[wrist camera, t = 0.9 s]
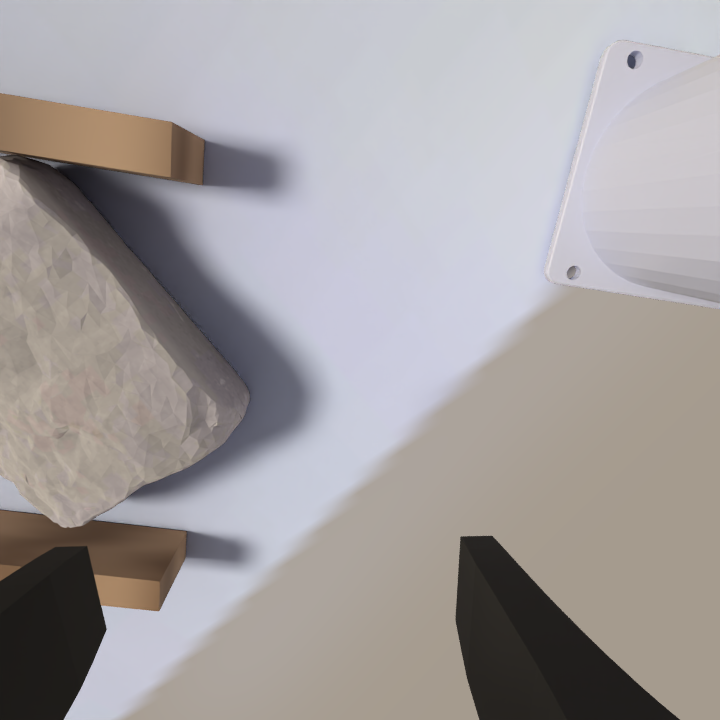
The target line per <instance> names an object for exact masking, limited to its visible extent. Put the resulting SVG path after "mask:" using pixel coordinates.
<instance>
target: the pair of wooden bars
mask: <svg viewBox="0 0 720 720" xmlns="http://www.w3.org/2000/svg"><path fill="white" fill-rule="evenodd" d="M204 143H205V140H203V139H202V138H200V137H198V136H196V135H194V134H193V133H191V132H189V131H187V130H185V129H183V128H182V127H180V126H178V125H176V124H174V123H173V122H168V121H162V120H156V119H150V118H144V117H138V116H132V115H127V114H121V113H115V112H109V111H103V110H97V109H91V108H85V107H79V106H73V105H67V104H61V103H55V102H49V101H43V100H37V99H31V98H25V97H20V96H14V95H8V94H2V93H0V153H5V154H11V155H20V156H23V157H30V158H36V159H42V160H48V161H55V162H61V163H67V164H73V165H80V166H86V167H92V168H98V169H104V170H111V171H117V172H123V173H129V174H136V175H142V176H148V177H154V178H161V179H167V180H173V181H179V182H185V183H192V184H198V185H203V165H204ZM186 535H187V531H179V530H171V529H162V528H153V527H144V526H135V525H127V524H118V523H109V522H100V521H92V520H91V521H89V522H88V523H86V524H85V525H83V526H77V527H72V528H70V527H67V528H64V527H61V526H60V525H59V524H58V523H55V522H53V521H52V520H51V519H50V518H48V517H47V516H45V515H39V514H30V513H22V512H13V511H4V510H0V581H1V580H3V579H4V578H6V577H7V576H9V575H10V574H12V573H13V572H15V571H16V570H18V569H20V568H21V567H23V566H24V565H26V564H27V563H29V562H31V561H32V560H34V559H35V558H37V557H39V556H40V555H42V554H44V553H46V552H47V551H49V550H51V549H53V548H54V547H69V546H87V547H88V552H89V556H90V560H91V564H92V569H93V573H94V577H95V582H96V586H97V590H98V595H99V599H100V603H101V605H103V606H113V607H122V608H132V609H142V610H151V611H160V609H161V606H162V604H163V602H164V600H165V598H166V596H167V594H168V592H169V590H170V588H171V586H172V584H173V582H174V580H175V578H176V576H177V574H178V572H179V570H180V568H181V566H182V564H183V562H184V560H185V557H186Z"/></svg>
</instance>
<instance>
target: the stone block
mask: <svg viewBox="0 0 720 720" xmlns="http://www.w3.org/2000/svg"><path fill="white" fill-rule="evenodd" d="M249 401H250V393H249V391H248V389H247V386H246V384H245V383H244V382H243V380H242V379H241V378H240V377H239V375H238V374H237V373H236V371H235V370H234V369H233V368H232V367H231V366H230V364H229V363H228V362H227V361H226V360H225V359H224V358H223V356H222V355H221V354H220V353H219V352H218V351H217V350H216V348H215V347H214V346H213V345H212V344H211V343H210V341H209V340H208V339H207V338H206V337H205V336H204V335H203V333H202V332H201V331H200V330H199V329H198V328H197V326H196V325H195V324H194V323H193V322H192V321H191V319H190V318H189V317H188V316H187V315H186V314H185V312H184V311H183V310H182V309H181V308H180V307H179V305H178V304H177V303H176V302H175V301H174V300H173V298H172V297H171V296H170V295H169V294H168V293H167V292H166V291H165V289H164V288H163V287H162V286H161V285H160V284H159V283H158V281H157V280H156V279H155V278H154V276H153V275H152V274H151V273H150V271H149V270H148V269H147V268H146V267H145V266H144V264H143V263H142V262H141V261H140V260H139V259H138V258H137V257H136V255H135V254H134V253H133V252H132V251H131V250H130V249H129V248H128V247H127V246H126V245H125V243H124V242H123V240H122V239H121V238H120V237H119V235H118V234H117V233H116V232H115V231H114V230H113V229H112V227H111V226H110V225H109V224H108V223H107V221H106V220H105V219H104V218H103V216H102V215H101V214H100V213H99V212H98V211H97V210H96V208H95V207H94V205H93V204H92V203H91V202H90V201H89V200H88V199H87V198H86V197H85V196H84V195H83V193H82V192H81V191H80V190H79V188H78V187H77V186H76V185H75V184H74V183H73V182H72V181H71V180H69V179H68V178H67V177H65V176H64V175H63V174H61V173H60V172H58V171H57V170H56V169H54V168H53V167H51V166H50V165H48V164H45V163H42V162H39V161H36V160H33V159H30V158H26V157H23V156H20V155H7V156H1V157H0V475H1V476H2V477H4V478H5V479H7V480H10V481H12V482H14V484H15V485H16V487H17V488H18V490H19V493H20V494H21V495H22V496H23V497H24V498H25V499H26V500H27V501H28V502H30V503H31V504H32V505H33V506H34V507H35V508H37V509H38V510H39V511H40V512H41V513H43V514H44V515H45V516H47V517H48V518H50V519H51V520H52V521H53V522H55V523H58V524H59V525H60V526H61V527H64V528H67V527H70V528H72V527H77V526H83V525H85V524H86V523H88V522H89V521H91V520H93V519H94V518H96V517H97V516H99V515H100V514H103V513H105V512H106V511H108V510H110V509H112V508H113V507H115V506H116V505H117V504H119V503H121V502H123V501H124V500H125V499H126V498H127V497H128V496H129V495H131V494H132V493H133V492H135V491H136V490H138V489H139V488H141V487H142V486H144V485H147V484H150V483H153V482H155V481H158V480H160V479H162V478H164V477H167V476H169V475H171V474H174V473H176V472H179V471H182V470H184V469H186V468H188V467H190V466H192V465H193V464H195V463H196V462H198V461H200V460H201V459H203V458H204V457H205V456H207V455H208V454H209V453H211V452H212V451H214V450H216V449H217V448H219V447H220V446H221V445H223V444H224V443H225V442H226V440H227V439H228V437H229V436H230V434H231V433H232V431H233V430H234V429H235V428H236V427H237V426H238V425H239V423H240V422H241V421H242V419H243V417H244V416H245V413H246V409H247V406H248V404H249Z"/></svg>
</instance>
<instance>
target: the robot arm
mask: <svg viewBox="0 0 720 720" xmlns="http://www.w3.org/2000/svg"><path fill="white" fill-rule="evenodd" d="M629 55H632V56H634V58H635V60H636V65H635V67H634V69H631V68H630V67H629V66H628V64H627V58H628V56H629ZM572 266H574V267H575V269H576V273H575V275H574V276H573V277H572V278H568V277H567V271H568V269H569V268H570V267H572ZM544 275H545V278H546V279H547V280H548V281H549V282H552V283H555V284H560V285H566V286H573V287H579V288H586V289H593V290H599V291H605V292H612V293H618V294H625V295H631V296H638V297H644V298H650V299H657V300H664V301H671V302H677V303H683V304H690V305H696V306H702V307H709V308H715V309H720V55H718V56H716V57H710V56H705V55H700V54H695V53H689V52H684V51H679V50H674V49H668V48H663V47H658V46H653V45H647V44H642V43H637V42H632V41H626V40H619V41H617V42H615V43H613V44H611V45H610V46H608V47H607V48H606V49H605V50H604V52H603V53H602V56H601V58H600V62H599V65H598V69H597V73H596V77H595V80H594V84H593V88H592V91H591V95H590V99H589V103H588V106H587V110H586V114H585V118H584V121H583V125H582V129H581V133H580V136H579V140H578V144H577V147H576V151H575V155H574V159H573V162H572V166H571V170H570V174H569V177H568V181H567V185H566V189H565V192H564V196H563V200H562V204H561V207H560V211H559V215H558V218H557V222H556V226H555V230H554V233H553V237H552V241H551V245H550V248H549V252H548V256H547V260H546V263H545V267H544ZM460 540H461V541H460V555H459V572H458V573H459V574H458V588H457V606H456V625H457V630H458V635H459V640H460V645H461V651H462V655H463V660H464V665H465V670H466V675H467V679H468V683H469V686H470V690H471V693H472V696H473V700H474V703H475V706H476V710H477V713H478V716H479V720H680V719H678V718H677V717H676V716H675V715H673V714H672V713H671V712H670V711H669V710H667V709H666V708H665V707H664V706H663V705H661V704H660V703H659V702H658V701H657V700H656V699H655V698H653V697H652V696H651V695H650V694H649V693H648V692H646V691H645V690H644V689H643V688H642V687H641V686H640V685H639V684H638V683H636V682H635V681H634V680H633V679H632V678H631V677H630V676H629V675H628V674H627V673H626V672H625V671H623V670H622V669H621V668H620V667H619V666H618V665H617V664H616V663H615V662H614V661H613V660H612V659H610V658H609V657H608V656H607V655H606V654H605V653H604V652H603V651H602V650H601V649H600V648H599V647H598V646H597V645H596V644H595V643H594V642H593V641H592V640H591V639H590V638H589V637H588V636H587V635H586V634H585V633H583V631H582V630H580V628H579V627H578V626H577V625H576V624H575V623H574V622H573V621H572V620H571V619H570V618H568V616H567V615H566V614H565V613H564V612H562V610H561V609H560V608H559V607H558V606H557V605H556V604H555V603H554V602H553V601H552V600H551V599H550V598H549V597H548V596H547V595H546V594H545V593H544V592H543V590H542V589H540V587H539V586H538V585H537V584H536V583H535V582H534V581H533V580H532V579H531V578H530V577H529V576H528V574H527V573H526V572H525V571H524V570H523V569H522V568H521V567H520V566H519V565H518V563H516V561H515V560H514V559H513V558H512V557H511V556H510V555H509V554H508V552H507V551H506V550H505V549H504V548H503V547H502V546H501V545H500V544H499V543H498V541H496V539H494V538H493V536H467V537H461V539H460ZM106 630H107V629H106V625H105V620H104V616H103V612H102V608H101V603H100V599H99V595H98V590H97V586H96V582H95V577H94V573H93V569H92V564H91V560H90V556H89V552H88V547H87V546H69V547H54V548H53V549H51V550H49V551H47V552H46V553H44V554H42V555H40V556H39V557H37V558H35V559H34V560H32V561H31V562H29V563H27V564H26V565H24V566H23V567H21V568H20V569H18V570H16V571H15V572H13V573H12V574H10V575H9V576H7V577H6V578H4V579H3V580H1V581H0V720H64V718H65V716H66V714H67V712H68V711H69V709H70V707H71V705H72V704H73V702H74V700H75V698H76V696H77V695H78V693H79V691H80V689H81V687H82V685H83V683H84V680H85V678H86V676H87V674H88V672H89V669H90V667H91V665H92V663H93V661H94V658H95V656H96V653H97V651H98V649H99V646H100V644H101V642H102V639H103V637H104V634H105V632H106Z"/></svg>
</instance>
